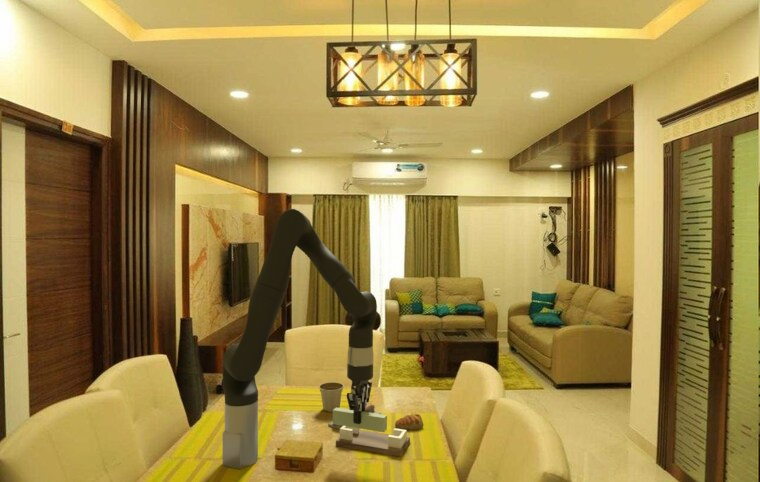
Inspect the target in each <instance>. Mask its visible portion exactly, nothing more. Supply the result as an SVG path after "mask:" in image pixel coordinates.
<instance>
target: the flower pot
mask: <svg viewBox="0 0 760 482" xmlns="http://www.w3.org/2000/svg"><path fill="white" fill-rule="evenodd" d="M344 387H345V385H344V383H341V382H337V381H331V382H330V381H329V382H324V383H321V384H319V385H318V389H319V391H320V395H321V402H322V408H323V409H322V410H324V411H325V412H326V411H327V412H329V413H330V412H332V413H333V410H334V409H335V408H336V407H337V408H341V400H342V392H343V389H344Z"/></svg>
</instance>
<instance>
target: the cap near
mask: <svg viewBox="0 0 760 482" xmlns="http://www.w3.org/2000/svg"><path fill="white" fill-rule="evenodd" d="M407 431H408V430H407V429H399V428H397V427H394V428H393V430H392V432H393V434H390V435H389V436H388V447H394V448H400V449H401V447H402V446H403V445H404V443H405V442H406V440H407V437H408V435H407V433H408V432H407Z"/></svg>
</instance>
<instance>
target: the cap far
mask: <svg viewBox="0 0 760 482" xmlns="http://www.w3.org/2000/svg"><path fill="white" fill-rule="evenodd" d="M359 430H360V428H355V427H349V426H342V427H341V428H340V429H339V437H340V439H346V440H352V439H353V433H357V434H358V433H359Z"/></svg>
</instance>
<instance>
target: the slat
mask: <svg viewBox="0 0 760 482" xmlns="http://www.w3.org/2000/svg"><path fill="white" fill-rule="evenodd" d="M332 422H333V424H337V425H343V426H349V427H355V428H359V429H360V430H366V431H372V432H378V433H385V432H386V431H387V430H388V415H387V414H382V413H381V414H376V413H370V412H363V411H361V423H360V424H355V423H354V422H353V410H350V409H348V408H343V407H340V408H337V407H336V408H335V409H334V410H333V412H332Z"/></svg>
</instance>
